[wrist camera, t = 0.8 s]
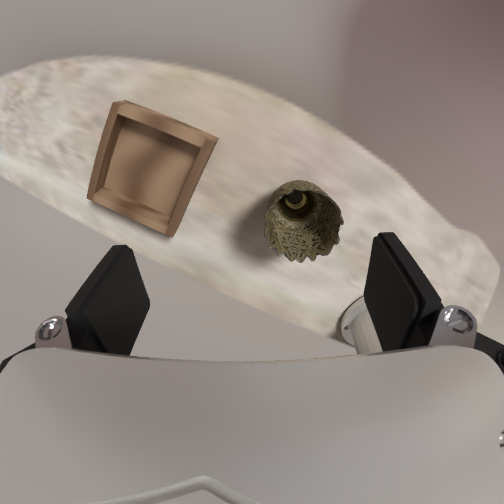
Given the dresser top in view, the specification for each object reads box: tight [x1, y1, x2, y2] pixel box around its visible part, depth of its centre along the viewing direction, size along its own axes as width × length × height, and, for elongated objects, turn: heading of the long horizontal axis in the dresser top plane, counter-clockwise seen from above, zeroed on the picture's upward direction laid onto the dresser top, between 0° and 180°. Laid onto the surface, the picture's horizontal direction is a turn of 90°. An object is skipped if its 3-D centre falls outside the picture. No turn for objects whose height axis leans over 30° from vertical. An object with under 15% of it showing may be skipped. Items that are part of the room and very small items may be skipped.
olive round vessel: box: [264, 180, 344, 263], centre depth 29 cm, size 8×7×8 cm
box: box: [87, 100, 219, 238], centre depth 29 cm, size 12×12×3 cm
